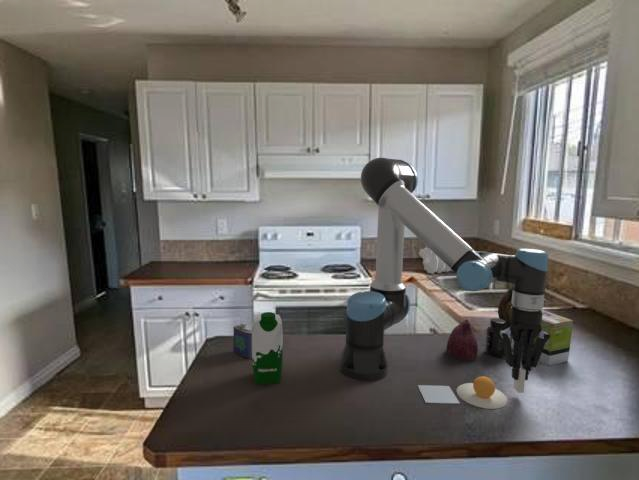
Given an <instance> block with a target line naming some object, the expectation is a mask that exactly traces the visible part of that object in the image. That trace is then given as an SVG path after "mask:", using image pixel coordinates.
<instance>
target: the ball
mask: <svg viewBox="0 0 639 480" xmlns="http://www.w3.org/2000/svg"><path fill="white" fill-rule="evenodd" d="M472 383H473V388H474V391H475V392H476V394H477V395H479V396H480V397H483V398H488V397H490V396H492V395H493V394H494V392H495V389H496V386H495V383H494V381H493V380H492V379H491V378H489V377H487V376H483V375H482V376H478V377H476V378H475V379H474V380H473V382H472Z"/></svg>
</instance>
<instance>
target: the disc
mask: <svg viewBox="0 0 639 480" xmlns="http://www.w3.org/2000/svg"><path fill="white" fill-rule="evenodd" d="M473 383H474V382H466V383H463V384H460V385H459V386H457V388H456V394H457V396H458V397H459V398H460V400H462V401H464V402H465V403H467V404H469V405H471V406H474V407H477V408H481V409H487V410H496V409H502V408H505V406H507V404H508V398H507V396H506V395H505V394H504V393H503V392H502V391H501V390H499V389H497V388H495V392H494V394H493V395H492V396H490V397H488V398H483V397H480V396H479V395H477V394H476V392H475V391H474V388H473Z"/></svg>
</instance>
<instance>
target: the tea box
mask: <svg viewBox="0 0 639 480" xmlns="http://www.w3.org/2000/svg"><path fill="white" fill-rule="evenodd" d="M541 310H542V311H543V315H542V323H541V327H542V331H544V332H546V333H547V334H549V335H550V338H549V339H548V340H547V342H546V343H545V346H544V348H543V351H542V354H541V356H540V359H539V363H542V364H544V365H545V366H553V365H559V364H563V363H566V362H568V361H569V357H570V351H571V350H570V349H571V343H572V342H571V341H572V334H573V326H574V324H573V323H574V320H572V319H570V318H567V317H565V316H561V315H558V314H555V313H553V312H550V311H547V310H544V309H543V308H542V309H541ZM511 336H512V337H511V347H512V349H513V347H514V341H513V338H514V337H513V335H512V334H511ZM536 338H537V337H536ZM536 338H535V339H534V343H535V341H536ZM533 346H534V345H533ZM533 346H532V349H533ZM522 351H523V349H522Z"/></svg>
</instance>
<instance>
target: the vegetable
mask: <svg viewBox="0 0 639 480" xmlns="http://www.w3.org/2000/svg"><path fill="white" fill-rule="evenodd" d="M471 326H472V325H471V322H470V321H469V319H468V318H466V319H464V320H462V322H460V323H459V324H457V325H456V326H455V327H454V328H453V329H452V330H451V333H450V335H449V337H448V340H447V343H446V349H445V350H446V351H445V354H446V355H447V356H448V357H450V358H453V359H455V360H460V361H464V362H465V361H466V362H467V361H470V362H471V361H474V360H476V359H477V358H478V354H479V353H478V349H479V348H478V347H479V346H478V341H477V338H476V336H475V334H474V332H473V330H472V327H471Z"/></svg>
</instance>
